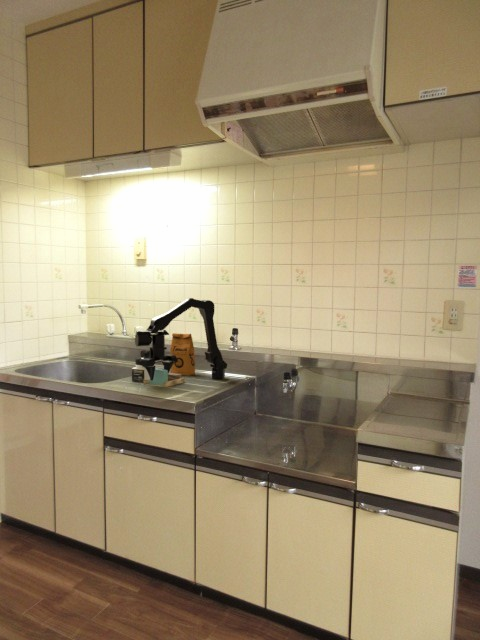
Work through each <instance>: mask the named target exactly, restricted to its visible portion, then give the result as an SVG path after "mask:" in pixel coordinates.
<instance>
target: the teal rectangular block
mask: <svg viewBox="0 0 480 640" xmlns="http://www.w3.org/2000/svg"><path fill="white" fill-rule="evenodd" d="M164 382H168V370H164V368H163V369H162V368H157V367H155V373H154V378H153V380H151V379H150V384H154V385H161V386H163V383H164Z"/></svg>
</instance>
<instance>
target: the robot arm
mask: <svg viewBox="0 0 480 640" xmlns="http://www.w3.org/2000/svg"><path fill="white" fill-rule="evenodd" d="M191 308H195V309H198V311H199V314H200V315H201V316H200V317H202V319H203V325H204V331H205V337H206V343H207V344H206V345H207V350H206V351H204V355H205V360H206V361H207V363H208V364H209V366H210V367H211V380H214V381H215V380H217V381H218V380H224V379H225V380H228V378H227V377H226V376H225V375H226V372H225V371H226V369H227V368H228V363H227V362H226V361H225V360H224V359H223V356H222V352H221V350H220V348H219V347H218V342H217V334H216V329H215V328H216V327H215V324H214V322H215V321H214V315H215V303H214V302H213V301H212V300H209V299H202V300H200V299H195V298H193V297H186V299H184V301H182V302H181V303H179V304H178V305H176V306H174V307H173V308H171V309H170V310H169V311H167V312H165V313H162V314H160V315H157V316H155V317H153V318H152V319H150V323H149V326H148V327H147V328H146V330H141V331H140V330H137V331H136V332H135V337H134V344H135V346H136V347H147V346H150V345H151V347H149V350H148V351H147V350H146V349H143V350H140V354H139V355H140V357H141V358H144V359H141V360H140V365H141V366H142V367H145V368H146V370H147V372H148V374H149V377H150V379H151V380H153V378H154V373H155V368H157V367H156V364H157V363H161V364H163V369H164V370H168V373H170V372H171V367H172V365H173V364H174V363H175V362H174V361H177V357H176V356H175V355H170V354H169V353H168V354H166V353H165V352H166V350H167V348H168V347H167V346H166V345H165V344H166V342H165V339H166V337H165V336H169V335H170V333H169V332H168V331H167V330H166V328H167V327H168V326H169V325H170V323H171V322H172V321H173V320H175V318H178V317H179V316H180V315H182V314H183V313H184V312H186V311H187V310H189V309H191Z"/></svg>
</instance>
